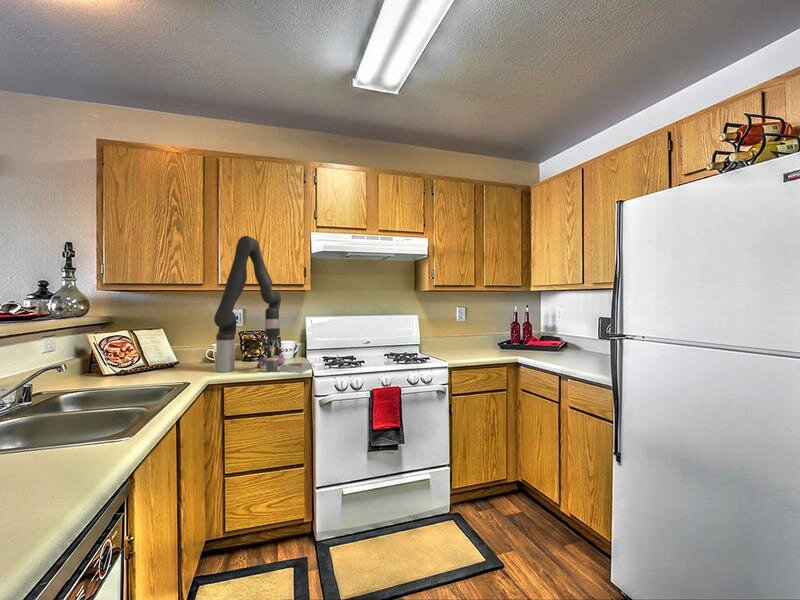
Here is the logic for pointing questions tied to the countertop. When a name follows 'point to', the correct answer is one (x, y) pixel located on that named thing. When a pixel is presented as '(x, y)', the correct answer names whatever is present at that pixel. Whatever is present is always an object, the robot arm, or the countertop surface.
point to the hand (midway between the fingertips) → (273, 357)
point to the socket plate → (295, 367)
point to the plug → (271, 364)
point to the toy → (280, 357)
